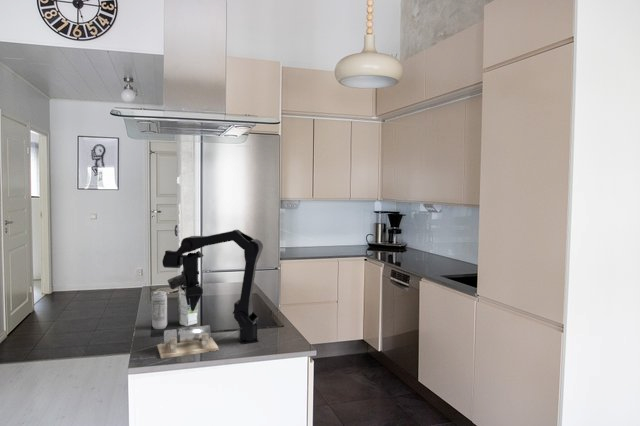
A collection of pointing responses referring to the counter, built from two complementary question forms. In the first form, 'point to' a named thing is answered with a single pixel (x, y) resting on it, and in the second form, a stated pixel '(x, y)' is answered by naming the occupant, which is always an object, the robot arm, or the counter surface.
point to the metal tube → (186, 334)
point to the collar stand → (187, 347)
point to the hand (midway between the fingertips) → (190, 307)
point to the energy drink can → (159, 310)
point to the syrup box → (187, 312)
